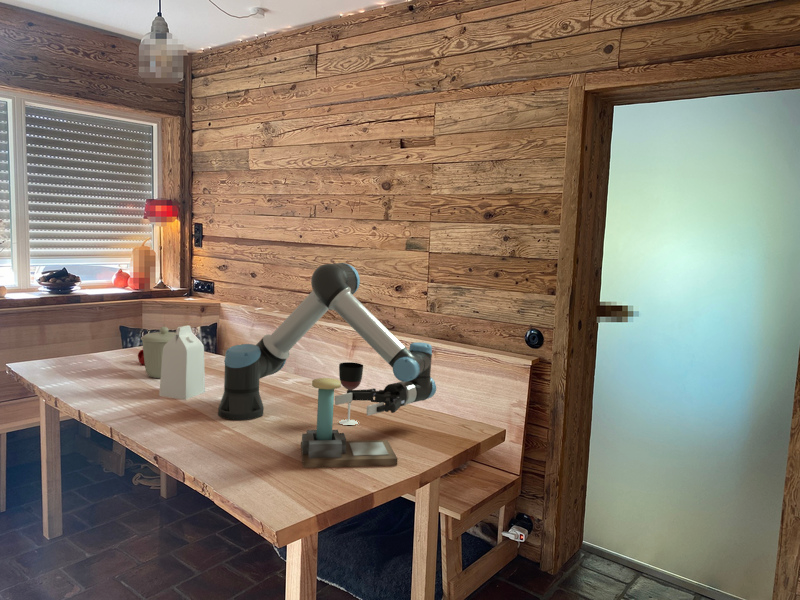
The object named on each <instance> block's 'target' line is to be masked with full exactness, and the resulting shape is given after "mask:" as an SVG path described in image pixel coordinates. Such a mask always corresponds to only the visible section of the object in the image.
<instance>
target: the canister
mask: <svg viewBox="0 0 800 600" xmlns="http://www.w3.org/2000/svg"><path fill="white" fill-rule="evenodd" d="M175 335H176V332H172V331H170V329H169V328H168V327H167V326H161V327H160V328H159V332H158V331H157V332H149V333H147V334H145V335H143V336H141V337H140V340H141V342H142V350H143V353H144V362H145V365H144V368H145V372H146V375H147V376H148V377H150V378H153V379H161V366H162V354H163V347H164V345H165V344H166V343H167V342H168V341H169V340H171V339H172V338H173V337H174V336H175Z"/></svg>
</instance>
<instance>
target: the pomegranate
mask: <svg viewBox="0 0 800 600" xmlns="http://www.w3.org/2000/svg"><path fill="white" fill-rule="evenodd" d="M137 358H138V361H139V363H140V365H144V366H145V362H144V353H143V349H140V351H139V352H138V354H137Z"/></svg>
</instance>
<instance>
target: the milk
mask: <svg viewBox="0 0 800 600" xmlns="http://www.w3.org/2000/svg"><path fill="white" fill-rule="evenodd" d="M175 333H176V335H175V336H174V337H173V338H172V339H171V340H169V341H168V342H167V343H166V344H165V345H164V347H163V354H162V366H161V378H159V379H160V383H159V393H158V394H159V395H158V396H159V397H164V398H170V399H178V400H185V401H187V400H188V399H191V398H194V397H196V396H199V395H201V394H204V393H206V382H205V380H206V378H205V346H204V344H203V342H202V341H201V340H200V339H199V338H198V337H197V336H196V335H195V333H193V330H192V327H191V325H188V324H187V325H182V326H178V327H177V328H176V331H175Z"/></svg>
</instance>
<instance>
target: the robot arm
mask: <svg viewBox="0 0 800 600" xmlns="http://www.w3.org/2000/svg"><path fill="white" fill-rule="evenodd" d="M360 280H361V278H360V274H359V271H357V269H356V268H355V267H354V266H352V265H351V264H348V263H345V262H339V263H325V264H321V265H320V266H318V267H316V269H315V270H314V272H313V273H312V276H311V280H310V282H311V283H310V284H311V289H312V291H311V292H310V293H309V294H308V295H307V296H306V297H305V298H304V299H303V300H302V302H300V304H298V306H297V307H296V308H295V309H294V310H293V311H292V312H291V313H290V314H289V315H288V316H287V317H286V318H285V320H284V321H282V323H281V324H280V325H279V326H278V327H277V328H276V329H275V330H274V331H273V332H272V333H271V334H266V335H264V336H263V337H262V338H261V339H260V340H259V341H257V343H256V344H252V343H244V344H243V343H242V344H235V345H233V346H231V347H228V348H227V349H226V351H225V355H224V362H223V363H224V377H223V378H224V379H223V381H224V383H223V384H224V385H223V386H224V387H223V389H224V390H223V394H222V397H221V400H220V402H219V406H218V408H217V411H218V412H217V414H218V417H221V418H222V419H225V420H231V421H246V420H253V419H257V418H260V417H262V416H263V415H264V410H265V409H264V408H265V407H264V403H263V401H262V397H261V394H260V380H261V379H262V378H265V377H267V376H271V375H274V374H276V373H278V372H280V370H282V369H283V367H285V364H286V361H287V359H288V358H289V356H290V350H291V349H292V348H293V347H294V346H295V345H296V344H297V343H298V342H299V341H300V340H301V339H302V337H304V336H305V335H306V334H307V333H308V331H309V330H310V329H311V328H313V327H314V325H315V324H317V322H318V321H319V320H320V319H321V318H322V317H323V316H324V315H325V314H326V313H327V312H328V311H329V310H330V311H332V310H333V311H335V312H336V313H337V314H338V315H339V316H340V317H341V318H342V319H343V320H344V321H345V322H346V323H347V324H348V325H349V326H350V327H351V328H352V330H354V331H355V332H356V333H357V334H358V335H359V336H360V337H361V338H362V339H363V340H364V341H365V342H366V343H367V344H368V345H369V346H370V347H371V348H372V349H373V350H374V351H375V352H376V353H377V354H378V355H379V356H380V357H381V358H382V359H383V360H384V361H385V362H386V363H387V364H388V365H389V366H390V367H391V368H392V372H393V375H394V377H395V378H396V380H399V381H398V382H394V383H390V384H389V383H388V384H387V385H386V386H385V388H384V389H379V390H376V388H369V389H353V390H348V389H346V393H342V394H339V395H334V405H335V406H339V405H343V404H348V402H349V403H350V404H351V403H352V401H370V403H372V404H370V405H366V416H372V415H376V414H379V413H384V412H385V413H388V412H389V411H390V413H391V414H395V413H396V411H398V410H399V409H400V408H401V407H403V406H404V407H406V405H409V404H413V403H417V402H422V401H426V400H428V399H431V398H432V397H434V396H435V394H436V392H437V385H436V382H435V380H434V378H432V377H431V373H432V372H431V371H432V356H433V351H432V350H433V347H432V344H430V343H428V342H417V341H416V342H411V343H410V344H409V348H407V347H406V346H405V345H404V344H403V343H402V341H400V340H399V339H398V338H397V337H396V336H395V335H394V334H393V333H392V332H391V330H389V329H388V328H387V327H386V326H385V325H384V324H383V323H382V322H381V321H379V319H378V318H377V317H376V316H375V315H374V314H373V313H372V312H371V311H370V310H369V309H368V308H367V307H365V306H364V304H363V303H362V302H360V300H359V299H358V298H356V296H354V294H355V293H356V292H357V291H358V289H359V288H360V284H361V281H360ZM373 403H374V404H373Z"/></svg>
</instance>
